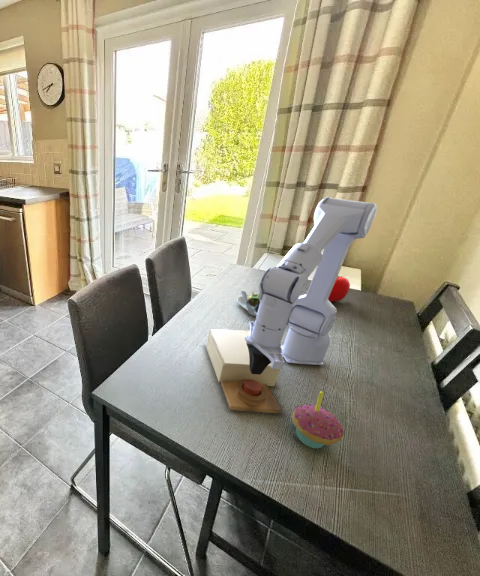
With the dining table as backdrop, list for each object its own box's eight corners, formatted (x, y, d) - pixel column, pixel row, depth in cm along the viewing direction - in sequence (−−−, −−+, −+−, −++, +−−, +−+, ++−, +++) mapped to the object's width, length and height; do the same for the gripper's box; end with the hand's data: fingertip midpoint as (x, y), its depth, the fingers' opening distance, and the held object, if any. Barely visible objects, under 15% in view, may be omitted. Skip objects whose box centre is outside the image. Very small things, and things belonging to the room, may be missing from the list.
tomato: (352, 305, 113) (363, 280, 108) (318, 305, 113) (327, 280, 108) (332, 291, 123) (341, 268, 118) (300, 291, 123) (308, 268, 118)
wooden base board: (265, 387, 76) (269, 378, 75) (279, 413, 69) (283, 404, 68) (220, 384, 77) (222, 375, 76) (229, 409, 70) (232, 400, 69)
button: (256, 385, 73) (258, 379, 73) (262, 396, 70) (263, 391, 69) (240, 384, 74) (242, 378, 73) (245, 395, 71) (247, 389, 70)
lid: (282, 369, 73) (283, 366, 73) (224, 365, 74) (224, 363, 74) (258, 333, 87) (258, 331, 87) (209, 330, 88) (209, 328, 88)
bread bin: (274, 386, 77) (280, 368, 74) (218, 382, 78) (222, 364, 75) (253, 350, 90) (258, 333, 87) (206, 347, 91) (209, 331, 88)
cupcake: (278, 422, 67) (294, 381, 62) (314, 419, 68) (333, 378, 62) (305, 459, 59) (326, 416, 54) (346, 456, 60) (370, 412, 55)
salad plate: (222, 297, 119) (224, 286, 117) (262, 292, 122) (265, 282, 120) (256, 324, 102) (259, 312, 100) (301, 317, 105) (305, 306, 103)
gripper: (239, 304, 71) (228, 351, 77) (264, 342, 58) (248, 394, 64) (271, 306, 71) (257, 353, 77) (302, 344, 58) (283, 397, 64)
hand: (255, 372), depth 70 cm, fingers closed
